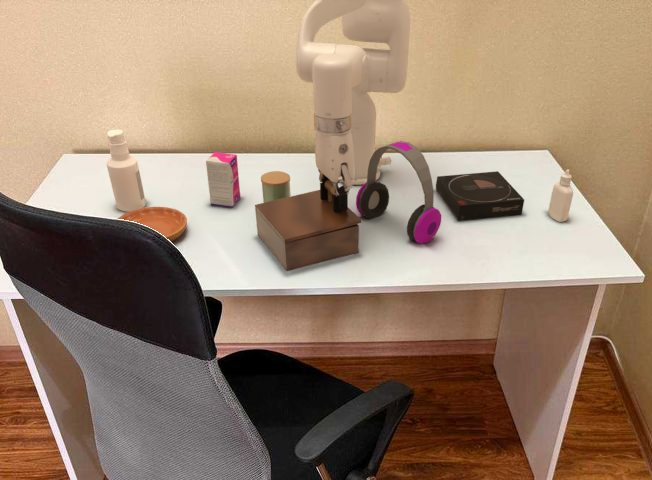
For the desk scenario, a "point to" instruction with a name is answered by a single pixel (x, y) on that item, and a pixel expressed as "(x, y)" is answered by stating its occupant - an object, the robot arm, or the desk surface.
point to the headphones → (376, 194)
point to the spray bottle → (124, 174)
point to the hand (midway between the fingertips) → (333, 204)
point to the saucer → (159, 220)
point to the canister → (275, 185)
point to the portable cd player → (479, 196)
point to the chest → (309, 245)
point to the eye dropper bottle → (561, 198)
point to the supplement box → (223, 179)
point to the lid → (305, 215)
